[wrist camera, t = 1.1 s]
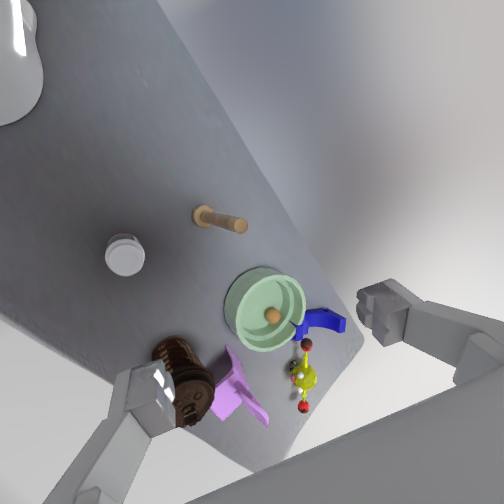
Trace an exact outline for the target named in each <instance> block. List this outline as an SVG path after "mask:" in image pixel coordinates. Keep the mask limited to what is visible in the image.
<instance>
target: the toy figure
mask: <svg viewBox="0 0 504 504" xmlns="http://www.w3.org/2000/svg"><path fill="white" fill-rule="evenodd" d="M301 348H302V350H304V351H305V355H303V362H302V364H299V365H298V364H297V363H296V361H293V362H291V363H290V365H291V366H292V365H293V364H294V365H295V366H296V367H295V368H294V367H293V368H290V372H292V371H293V372H292V375H291V381H292V382H294V384H295V385H296V387H298V388H297V392H298V393H302V394H301V396H302V397H303V400H302V401H300V402H299V404H298V410H299V411H300V412H301V413H307V412H308V411H309V404H308V402H307V401H305V397H306V391H307V390H310V389H312V388H313V387H314V386H315V384H316V381H317V375H316V372H315V370H314V369H313V368H312V367H311V366H310V365H308V355H307V351H310V350H311V348H312V341H311V340H310V339H308V338H304V339H303V340H302V341H301Z"/></svg>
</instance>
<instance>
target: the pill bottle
mask: <svg viewBox="0 0 504 504" xmlns="http://www.w3.org/2000/svg"><path fill="white" fill-rule="evenodd" d="M144 260H145V253H144V249H143V247H142V246H141V243H140V241H139V240H138V239H137V238H136V237H135V236H133V235H131V234H127V233H120V234H117V235H115V236H113V237H112V238H111V239H110V240H109V241H108V243H107V246H106V252H105V261H106V263H107V265H108V267H109V268H110V269H111V270H112V271H113V272H114V273H116V274H118V275H121V276H130V275H133V274H135V273H137V272H138V271H139V270H140V269H141V268H142V266H143V263H144Z"/></svg>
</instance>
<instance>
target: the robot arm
mask: <svg viewBox="0 0 504 504" xmlns="http://www.w3.org/2000/svg"><path fill="white" fill-rule="evenodd" d="M36 28H37V17H36V13H35V11H34V9H33V8H32V6H31V5H30V4H29V2H28V1H27V0H14V1H13V0H0V126H2V125H6V124H9V123H12V122H15V121H17V120H19V119H20V118H22V117H24V116H25V115H26V114H27V113H29V112H30V111H31V110H32V109H33V107H34V106H35V105H36V103H37V101H38V99H39V97H40V95H41V92H42V87H43V68H42V63H41V59H40V56H39V53H38V50H37V47H36V42H35V35H36ZM357 298H358V299H359V300H360V301H359V302H358V304H357V305H356V312H357V315H358V318H359V320H360V321H361V323H362V324H363V325H364V326H365V327H367V328H370V329H372V335H373V336H374V337H375V338H376V339H377V340H378V341H379V342H380V344H381V345H382V346H383V347H386V346H388V345H391V344H394V343H397V342H400V341H403V342H405V343H407V344H409V345H411V346H413V347H415V348H417V349H419V350H421V351H423V352H425V353H427V354H429V355H431V356H433V357H435V358H437V359H439V360H441V361H443V362H445V363H447V364H450V365H452V366H454V367H456V371H455V374H454V377H453V382H454V383H455V384H456V385H457V386H455V387H453V388H451V389H448V390H446V391H444V392H442V393H439V394H437V395H434V396H432V397H430V398H428V399H425V400H423V401H421V402H418V403H416V404H414V405H411V406H409V407H407V408H405V409H402V410H400V411H397V412H395V413H393V414H391V415H388V416H386V417H384V418H382V419H379V420H377V421H375V422H372V423H370V424H368V425H365V426H363V427H360V428H358V429H356V430H354V431H351V432H349V433H347V434H345V435H342V436H340V437H337V438H335V439H333V440H331V441H328V442H326V443H324V444H322V445H319V446H317V447H314V448H312V449H310V450H308V451H305V452H303V453H301V454H298V455H296V456H293V457H291V458H289V459H287V460H284V461H282V462H280V463H277V464H275V465H273V466H270V467H268V468H266V469H263V470H261V471H259V472H257V473H254V474H252V475H250V476H247V477H245V478H243V479H240V480H238V481H236V482H233V483H231V484H229V485H227V486H224V487H222V488H220V489H218V490H216V491H213V492H210V493H208V494H206V495H204V496H201V497H199V498H197V499H194V500H192V501H190V502H187V503H185V504H504V322H502V321H499V320H495V319H491V318H488V317H485V316H481V315H477V314H474V313H470V312H467V311H463V310H459V309H456V308H452V307H449V306H445V305H442V304H438V303H434V302H431V301H425V302H424V301H423V300H421V299H419V297H417V296H416V295H414V294H413V293H412V292H410V291H409V290H408V289H406V288H405V287H404V286H402V285H401V284H400V283H398V282H397V281H395V280H394V279H388V280H385V281H382V282H380V283H377V284H374V285H371V286H368V287H365V288H363V289H360V290H358V292H357ZM174 398H175V389H174V383H173V379H172V377H171V375H170V373H169V372H168V371H165V364H164V362H163V361H162V359H159V360H156V361H152V362H149V363H146V364H143V365H140V366H137V367H134V368H131V369H128V370H125V371H122V372H119V373H118V374H117V376H116V378H115V383H114V388H113V393H112V398H111V402H110V407H109V412H108V418H107V419H105V420H103V421H102V422H101V423H100V425H99V426H98V427H97V429H96V430H95V432H94V433H93V434H92V436H91V437H90V439H89V440H88V441H87V443H86V444H85V446H84V447H83V448H82V450H81V451H80V453H79V454H78V455H77V457H76V458H75V459H74V461H73V462H72V464H71V465H70V466H69V468H68V469H67V470H66V472H65V473H64V475H63V476H62V478H61V479H60V480H59V482H58V483H57V484H56V486H55V487H54V489H53V490H52V491H51V493H50V494H49V495H48V497H47V498H46V500H45V501H44V502H43V504H123V502H124V500H125V498H126V495H127V493H128V491H129V488H130V487H131V484H132V482H133V480H134V478H135V476H136V473H137V471H138V469H139V467H140V464H141V462H142V460H143V458H144V456H145V453H146V451H147V449H148V447H149V444H150V442H151V438H153V437H155V436H158V435H160V434H162V433H165V432H167V431H170V430H172V429H174V428H176V427H175V408H174V406H173V405H172V402H173V400H174Z"/></svg>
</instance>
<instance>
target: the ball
mask: <svg viewBox="0 0 504 504" xmlns="http://www.w3.org/2000/svg"><path fill="white" fill-rule="evenodd" d="M280 318H281V315H280V312H279V311H278V310H277V309H275V308H271V309H269V310H268V311H267V312H266V320H267V321H268V322H269V323H271V324H275V323H277V322H278V321H279V320H280Z"/></svg>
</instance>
